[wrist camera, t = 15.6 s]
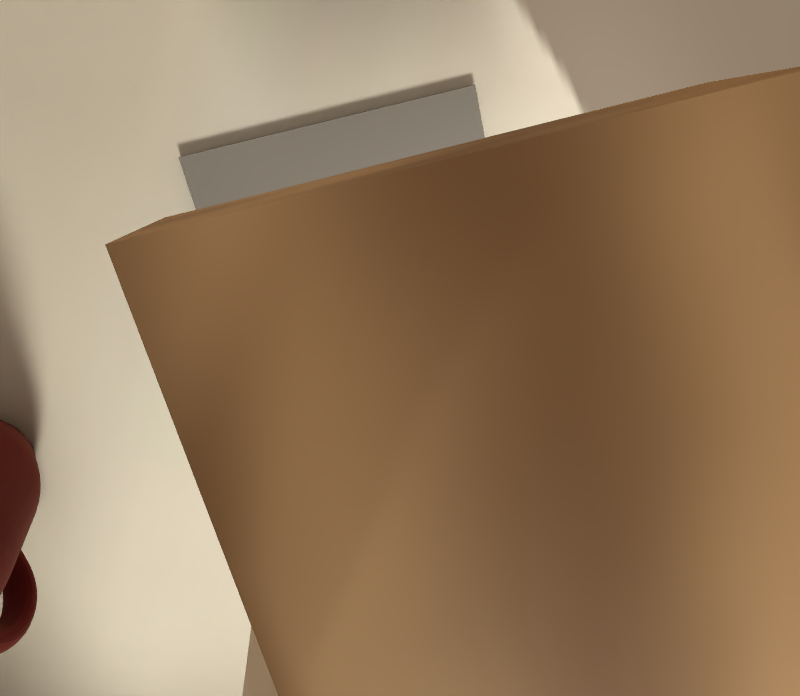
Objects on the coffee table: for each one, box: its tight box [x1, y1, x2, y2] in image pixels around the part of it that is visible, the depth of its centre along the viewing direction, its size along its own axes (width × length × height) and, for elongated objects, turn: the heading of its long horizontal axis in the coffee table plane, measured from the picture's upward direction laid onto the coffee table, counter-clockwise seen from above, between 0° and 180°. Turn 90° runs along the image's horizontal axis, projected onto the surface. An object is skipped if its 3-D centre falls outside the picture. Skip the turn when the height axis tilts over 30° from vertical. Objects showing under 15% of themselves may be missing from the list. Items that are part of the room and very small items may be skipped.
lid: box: [105, 67, 800, 696], centre depth 11 cm, size 9×17×3 cm, turn 13°
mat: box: [179, 85, 485, 210], centre depth 31 cm, size 13×20×1 cm, turn 13°
